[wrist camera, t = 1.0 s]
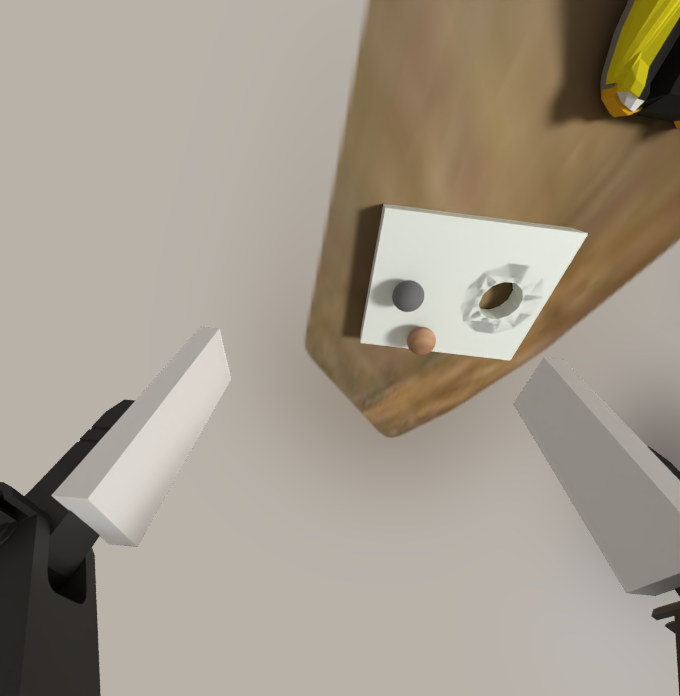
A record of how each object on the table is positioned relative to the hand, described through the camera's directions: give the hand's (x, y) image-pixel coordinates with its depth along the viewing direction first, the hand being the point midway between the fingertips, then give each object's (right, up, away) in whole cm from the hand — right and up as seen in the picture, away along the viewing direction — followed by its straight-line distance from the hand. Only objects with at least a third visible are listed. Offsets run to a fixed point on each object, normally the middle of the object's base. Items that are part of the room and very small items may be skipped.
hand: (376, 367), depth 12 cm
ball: (+6, +6, +18) cm, 20 cm away
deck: (+12, +8, +21) cm, 26 cm away
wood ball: (+8, +2, +21) cm, 23 cm away
